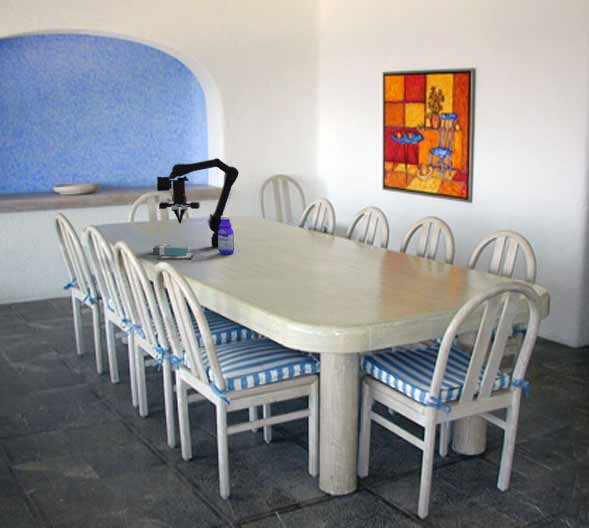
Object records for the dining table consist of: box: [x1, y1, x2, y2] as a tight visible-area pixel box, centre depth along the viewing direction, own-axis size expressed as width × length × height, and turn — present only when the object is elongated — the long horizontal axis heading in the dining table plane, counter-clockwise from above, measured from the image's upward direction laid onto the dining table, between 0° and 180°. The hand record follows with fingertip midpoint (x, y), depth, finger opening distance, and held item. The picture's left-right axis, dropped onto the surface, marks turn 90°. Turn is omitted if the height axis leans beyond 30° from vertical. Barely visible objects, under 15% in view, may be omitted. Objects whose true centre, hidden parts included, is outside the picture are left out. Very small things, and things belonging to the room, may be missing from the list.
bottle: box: [217, 215, 235, 255], centre depth 353 cm, size 7×6×17 cm
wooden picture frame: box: [156, 252, 195, 260], centre depth 347 cm, size 15×11×1 cm
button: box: [156, 243, 167, 247], centre depth 357 cm, size 4×4×3 cm
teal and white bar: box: [160, 245, 189, 256], centre depth 347 cm, size 12×4×4 cm, turn 90°
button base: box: [152, 244, 172, 255], centre depth 357 cm, size 7×7×3 cm
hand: (180, 223), depth 367 cm, fingers closed
